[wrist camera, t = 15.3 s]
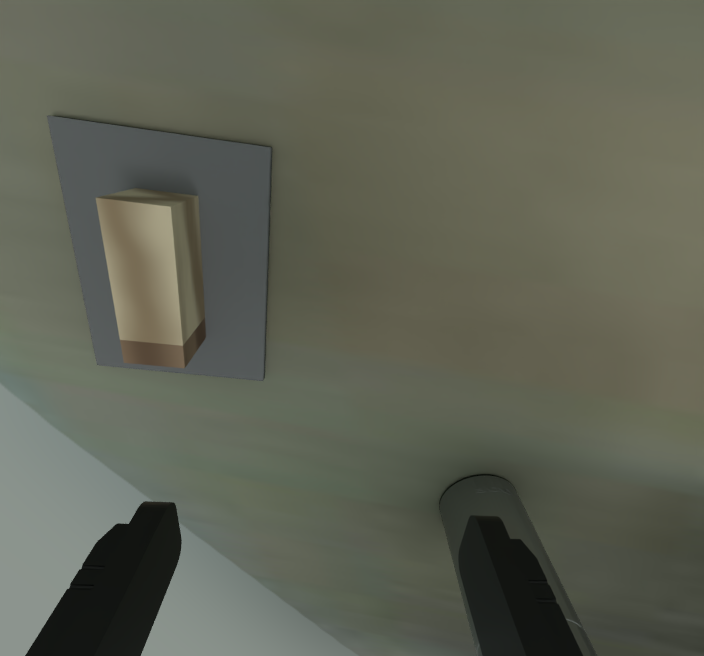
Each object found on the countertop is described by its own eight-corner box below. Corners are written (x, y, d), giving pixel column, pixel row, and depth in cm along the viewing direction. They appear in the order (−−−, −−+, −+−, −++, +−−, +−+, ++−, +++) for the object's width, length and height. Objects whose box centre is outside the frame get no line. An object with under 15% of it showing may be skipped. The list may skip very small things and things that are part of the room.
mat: (264, 377, 36) (263, 380, 35) (100, 361, 35) (97, 365, 34) (272, 147, 27) (270, 147, 27) (53, 116, 26) (47, 115, 25)
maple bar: (198, 195, 28) (170, 206, 24) (206, 337, 33) (184, 368, 29) (135, 188, 28) (95, 197, 23) (153, 332, 33) (123, 362, 28)
